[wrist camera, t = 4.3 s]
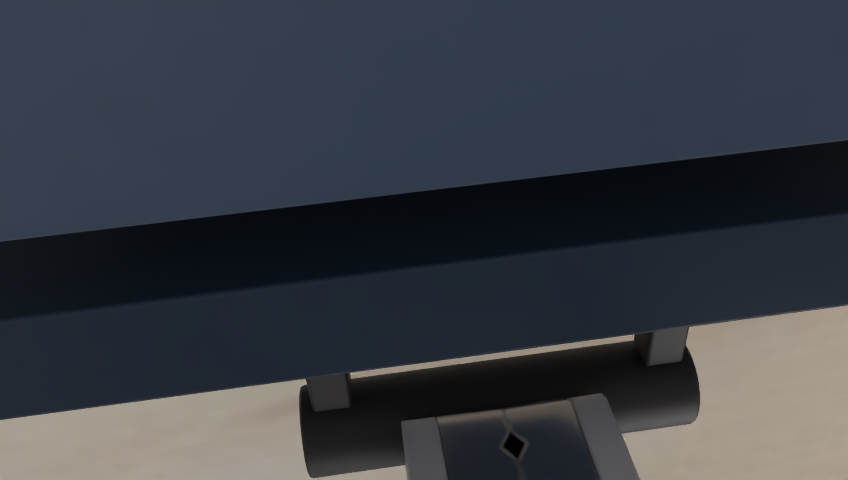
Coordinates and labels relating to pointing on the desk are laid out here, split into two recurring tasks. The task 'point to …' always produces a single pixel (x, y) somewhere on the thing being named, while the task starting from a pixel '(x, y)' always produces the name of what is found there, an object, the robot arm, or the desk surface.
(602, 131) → the cabinet
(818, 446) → the desk surface
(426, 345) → the drawer
